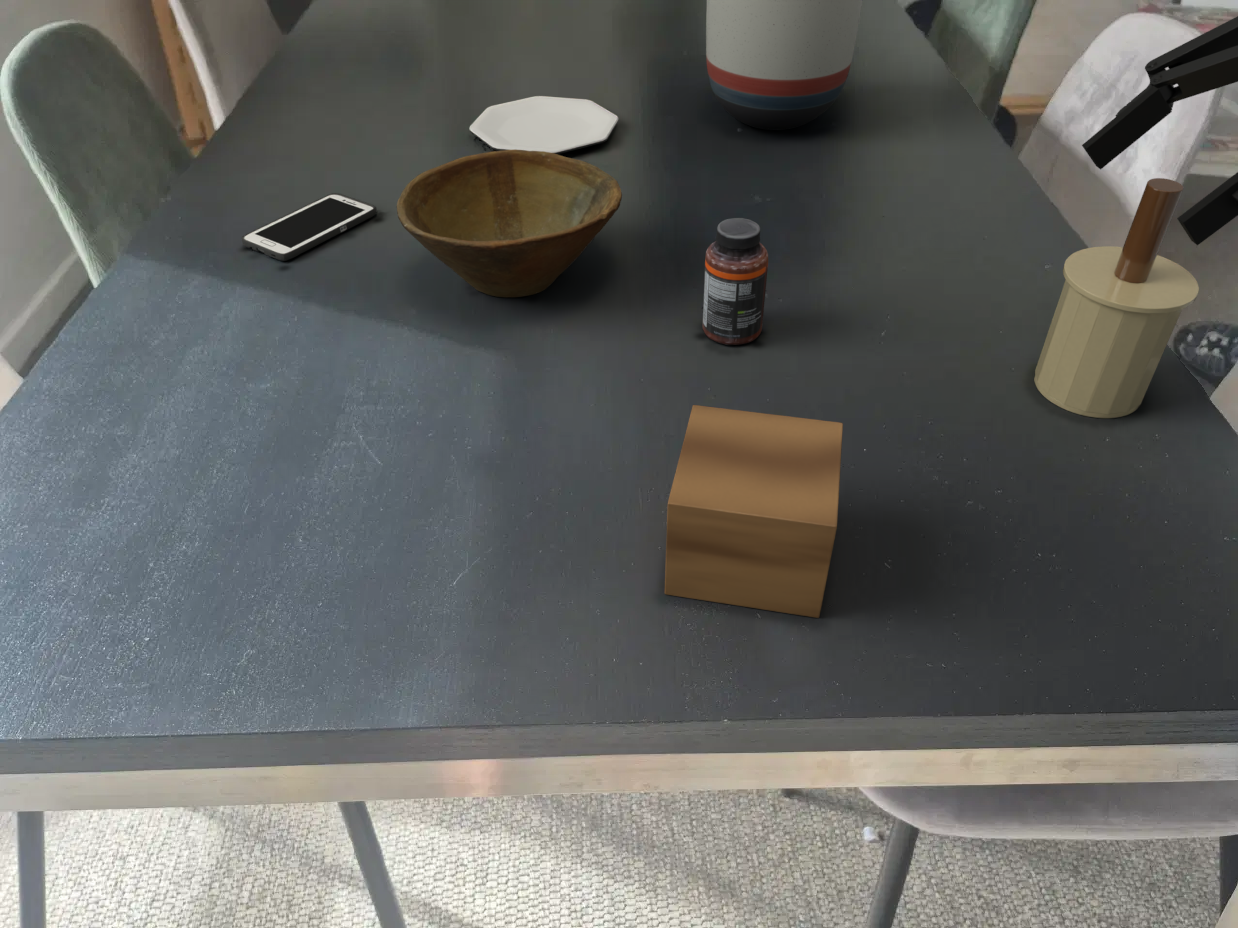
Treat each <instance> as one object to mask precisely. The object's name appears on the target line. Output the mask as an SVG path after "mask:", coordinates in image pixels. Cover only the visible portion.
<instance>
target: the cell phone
mask: <svg viewBox="0 0 1238 928" xmlns="http://www.w3.org/2000/svg"><path fill="white" fill-rule="evenodd" d="M377 214H378V212H377V207H376V206H375V205H373V204H371V203H368V202H365V201H364V200H360V199H358V198H357V199H356V198H354V197H352V196H348V195H347V194H342V193H339V192H331V193H329V194H327V195H325V196H322V197H320V198H318V199H316V200H314V201H312V202H310V203H308V204H305V205H304V206H301V207H299V208H297V209H295V210H293V211H291V212H288V213H287V214H285V215H283V216H281V217H279V218H276V219H275V220H272V221H270V222H268V223H266V224H264V225H261V226H259V227H258V228H256V229H254V230H251V231H250V232H247V233H245V234H244V235H242V236H241V242H242V245H243V246H244V247H246V248H247V249H252V250H253V251H256V252H261V253H263V254H264V255H265V256H268V257H271V258H274V259H276V260H279V261H282V262H286V261H289V260H291V259H294V258H296V257H298V256H299V255H302V254H304V253H305V252H307V251H309V250H311V249H313V248H315V247H317V246H318V245H320V244H322V243H325V242H326V241H328V240H330V239H332V238H334V237H336V236H338V235H340V234H342V233H343V232H345V231H348V230H350V229H351V228H353V227H355V226H357V225H359V224H361V223H363V222H366V221H367V220H369V219H371V218H373V217H374V216H376V215H377Z"/></svg>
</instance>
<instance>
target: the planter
mask: <svg viewBox="0 0 1238 928" xmlns="http://www.w3.org/2000/svg"><path fill="white" fill-rule="evenodd" d="M863 1H864V0H706V10H705V11H706V17H705V18H706V20H705V47H706V48H705V56H706V57H705V58H706V59H705V60H706V69H707V77H708V79H709V84H710V87H711V91H712V93H713V95H714V97H715V99H716V100H717V102H718V103H719V104H720V106H721V107H722V108H723V109H724V110H725V111H726V112H727V113H728V114H729V115H730V116H732V117H733V118H734V119H735V120H737V121H739V122H740V123H742V124H744V125H747V126H750V127H752V128H756V129H760V130H767V131H784V130H792V129H794V128H798V127H803V126H804V125H806V124H809V123H810V122H812V121H814V120H816V119H817V118H819V117H820V116H821V115H823V114H824V113H825V112H826V111H828V110H829V109H830V108H831V106H832V105H834V103H835V101H836V100H837V99H838V98H839V96H840V94H841V92H842V90H843V88H844V85H845V84H846V81H847V78H848V77H849V72H850V69H851V65H852V61H853V57H854V53H855V52H854V51H855V46H856V42H857V36H858V30H859V25H860V19H861V13H862V7H863Z"/></svg>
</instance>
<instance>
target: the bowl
mask: <svg viewBox="0 0 1238 928" xmlns="http://www.w3.org/2000/svg"><path fill="white" fill-rule="evenodd" d="M622 198H623V193H622V189H621V187H620V184H619V182H618V180H617V179H616V178H615V177H613V176H612V175H610V174H609V173H608V172H606V171H604V170H602V169H601V168H599V167H598V166H596V165H594V164H592V163H589V162H587V161H584V160H581V159H576V158H571V157H566V156H563V155H561V154H554V153H549V152H543V151H526V150H516V149H515V150H503V151H498V150H493V151H486V152H481V153H475V154H471V155H465V156H461V157H459V158H456V159H453V160H450V161H447V162H445V163H443V164H440V165H438V166H434V167H432V168H429V169H428V170H425V171H423V172H421V173H419V174H417V175H415V177H414V178H413V179H411V180H410V182H408V183H407V184H406V186H405V187H404V188H403V189H402V191H401V193H400V195H399V197H398V199H397V202H396V207H395V208H396V214H397V218H398V220H399V222H400V223H401V225H402V227H403V228H404V229H405V230H406V231H407V232H408V233H409V234H410V235H411V236H412V237H413V238H414V239H415V240H416V241H417V242H418V243H420V244H421V245H422V246H423V247H424V248H425V249H426V250H427V251H428V252H429V253H430V254H432V256H434V257H435V258H437V259H438V260H439V261H440V262H442V263H443V264H444V265H446V267H448V268H449V269H451V270H452V271H453V272H454V273H455V274H457V275H458V276H459V277H460V278H461V279H462V280H464V281H465V282H466V283H467V284H468V285H470V286H471V287H473V289H475V290H476V291H477V292H479V293H483V294H485V295H487V296H493V297H497V298H521V297H522V298H523V297H528V296H533V295H537V294H540V293H542V292H543V291H545V290H546V289H548V288H549V287H550V286H551V285H552V284H553V283H554V282H555V281H556V280H557V279H558V278H559V277H560V275H561V274H563V273H564V272H565V271H566V270H567V269H569V267H570V266H571V265H572V264H573V263H574V262H575V261H576V260H577V259H578V257H580V255H581V254H582V253H583V252H584V251H585V249H586V248H587V247H588V246H589V245H590V243H592V241H593V240H594V239H595V238H596V236H597V235H598V234H599V233H600V232H602V230H603V229H604V228H605V226H606V225H607V223H609V221H610V220H611V219H612V218H613V216H614V215H615V213H616V212H617V211H618V210H619V208H620V206H621V203H622Z"/></svg>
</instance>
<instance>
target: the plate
mask: <svg viewBox="0 0 1238 928" xmlns="http://www.w3.org/2000/svg"><path fill="white" fill-rule="evenodd" d="M619 121H620V120H619V116H618V115H617V114H615V113H613V112H611V111H609V110H607V109H606V108H605V107H603V106H601V105H599V104H598V103H596V102H595V101H593V100H590V99H585V98H572V97H560V96H559V97H558V96H547V95H546V96H545V95H536V96H535V95H534V96H530V97H526V98H521V99H516V100H512V101H507V102H503V103H499V104H494V105H490V106H488V107H486V108H485V109H484V111H482V112H481V114H479V116H478V117H477V118H476V119H475V120H474V121H473V122H472V123H471V124H470V125H469V132H470V133H471V134H472V135H474V136H475V137H476V138H477V139H479V140H480V141H482V142H483V143H484V144H486V145H487V146H488V147H489V148H491V149H492V150H493V151H503V150H515V149H516V150H526V151H543V152H549V153H554V154H558V155H561V154H564V153H569V152H572V151H576V150H579V149H580V150H581V149H584V148H588V147H591V146H596V145H600V144H603V143H605V142H607V141H608V139H609V137H610V136H611V134H612V132H613V131H614V129H615V127H616V125H617V124H618V122H619Z"/></svg>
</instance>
